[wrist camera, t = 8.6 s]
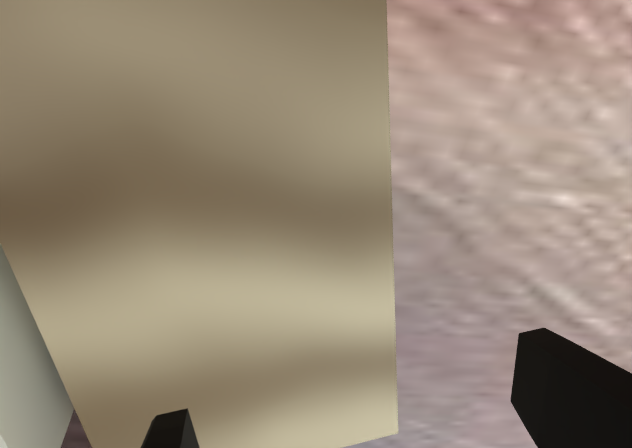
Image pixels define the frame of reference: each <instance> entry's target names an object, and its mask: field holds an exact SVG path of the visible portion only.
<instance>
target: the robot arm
mask: <svg viewBox="0 0 632 448" xmlns="http://www.w3.org/2000/svg"><path fill="white" fill-rule="evenodd" d="M511 403H512V404H513V406H514V408H515V410H516V412H517V413H518V415H519V417H520V419H521V420H522V422H523V424H524V426H525V427H526V429H527V431H528V432H529V434H530V436H531V437H532V439H533V441H534V442H535V444H536V445H537V447H538V448H632V373H630V372H628V371H626V370H624V369H622V368H620V367H618V366H616V365H615V364H613V363H611V362H609V361H607V360H605V359H603V358H601V357H600V356H598V355H596V354H594V353H592V352H590V351H588V350H587V349H585V348H583V347H581V346H579V345H577V344H575V343H573V342H572V341H570V340H568V339H566V338H564V337H562V336H560V335H558V334H556V333H554V332H552V331H550V330H548V329H546V328H540V329H536V330H532V331H527V332H523V333H519V337H518V345H517V353H516V362H515V370H514V378H513V386H512V394H511ZM141 448H200V447H199V444H198V441H197V437H196V434H195V431H194V427H193V424H192V421H191V417H190V414H189V411H188V408H187V409H182V410H178V411H173V412H169V413H164V414H160V415H156V416H155V418H154V419H153V420H152V422H151V424H150V427H149V429H148V432H147V434H146V436H145V439H144V441H143V443H142V446H141Z"/></svg>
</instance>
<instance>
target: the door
mask: <svg viewBox="0 0 632 448" xmlns="http://www.w3.org/2000/svg"><path fill="white" fill-rule="evenodd" d="M73 411H74V406H73V404H72V402H71V400H70V397H69V395H68V393H67V391H66V389H65V386H64V384H63V382H62V380H61V377H60V375H59V373H58V371H57V368H56V366H55V364H54V362H53V360H52V357H51V355H50V353H49V351H48V348H47V346H46V344H45V342H44V339H43V337H42V335H41V333H40V331H39V328H38V326H37V324H36V322H35V319H34V317H33V315H32V313H31V310H30V308H29V306H28V304H27V302H26V299H25V297H24V295H23V293H22V290H21V288H20V286H19V284H18V281H17V279H16V277H15V275H14V272H13V270H12V268H11V266H10V264H9V261H8V259H7V257H6V255H5V252H4V250H3V248H2V246H1V243H0V448H61V445H62V443H63V440H64V437H65V434H66V431H67V428H68V425H69V423H70V420H71V417H72V414H73Z"/></svg>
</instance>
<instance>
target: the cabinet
mask: <svg viewBox="0 0 632 448" xmlns="http://www.w3.org/2000/svg"><path fill="white" fill-rule="evenodd" d="M0 243H1V246H2V248H3V250H4V252H5V255H6V257H7V259H8V261H9V264H10V266H11V268H12V270H13V272H14V275H15V277H16V279H17V281H18V284H19V286H20V288H21V290H22V293H23V295H24V297H25V299H26V302H27V304H28V306H29V308H30V310H31V313H32V315H33V317H34V319H35V322H36V324H37V326H38V328H39V331H40V333H41V335H42V337H43V339H44V342H45V344H46V346H47V348H48V351H49V353H50V355H51V357H52V360H53V362H54V364H55V366H56V368H57V371H58V373H59V375H60V377H61V380H62V382H63V384H64V386H65V389H66V391H67V393H68V395H69V397H70V400H71V402H72V404H73V406H74V409H75V411H76V413H77V415H78V418H79V420H80V422H81V424H82V426H83V429H84V431H85V433H86V435H87V438H88V440H89V442H90V444H91V447H92V448H141V446H142V443H143V441H144V439H145V436H146V434H147V432H148V429H149V427H150V424H151V422H152V420H153V419H154V418H155V416H156V415H160V414H164V413H169V412H173V411H178V410H182V409H187V408H188V411H189V414H190V417H191V421H192V424H193V427H194V431H195V434H196V437H197V441H198V444H199V447H200V448H342V447H346V446H350V445H354V444H358V443H361V442H365V441H369V440H373V439H377V438H381V437H385V436H389V435H393V434H397V433H398V408H397V372H396V335H395V298H394V261H393V224H392V187H391V150H390V113H389V77H388V40H387V3H386V0H0Z"/></svg>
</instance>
